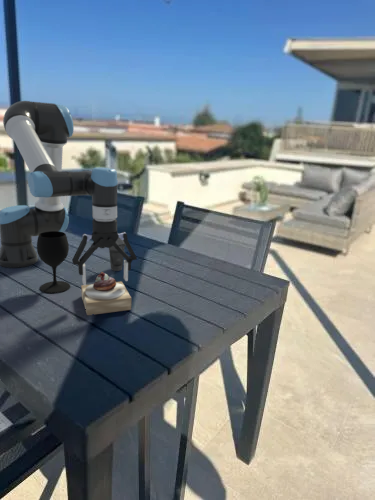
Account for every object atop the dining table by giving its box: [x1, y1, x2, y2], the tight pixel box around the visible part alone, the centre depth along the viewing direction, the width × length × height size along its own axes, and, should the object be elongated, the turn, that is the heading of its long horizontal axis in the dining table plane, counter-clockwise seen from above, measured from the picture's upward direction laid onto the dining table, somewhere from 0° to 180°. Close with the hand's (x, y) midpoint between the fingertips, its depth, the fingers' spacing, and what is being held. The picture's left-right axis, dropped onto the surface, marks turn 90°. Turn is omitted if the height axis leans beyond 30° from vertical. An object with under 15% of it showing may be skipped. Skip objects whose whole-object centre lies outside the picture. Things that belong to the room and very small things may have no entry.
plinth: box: [80, 281, 132, 316], centre depth 117 cm, size 14×14×5 cm
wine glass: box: [36, 231, 71, 294], centre depth 124 cm, size 10×10×20 cm
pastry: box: [93, 271, 117, 291], centre depth 117 cm, size 8×8×5 cm
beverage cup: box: [108, 232, 126, 272], centre depth 145 cm, size 7×7×20 cm
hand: (105, 281), depth 116 cm, fingers open, 13 cm apart
